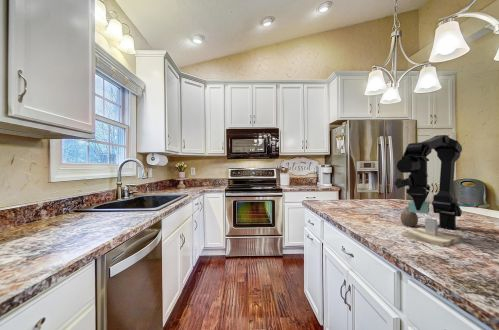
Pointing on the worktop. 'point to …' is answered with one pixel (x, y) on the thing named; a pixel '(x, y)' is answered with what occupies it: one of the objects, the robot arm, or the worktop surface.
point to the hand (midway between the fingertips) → (419, 209)
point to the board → (433, 237)
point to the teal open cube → (423, 209)
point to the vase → (409, 218)
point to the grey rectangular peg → (431, 226)
